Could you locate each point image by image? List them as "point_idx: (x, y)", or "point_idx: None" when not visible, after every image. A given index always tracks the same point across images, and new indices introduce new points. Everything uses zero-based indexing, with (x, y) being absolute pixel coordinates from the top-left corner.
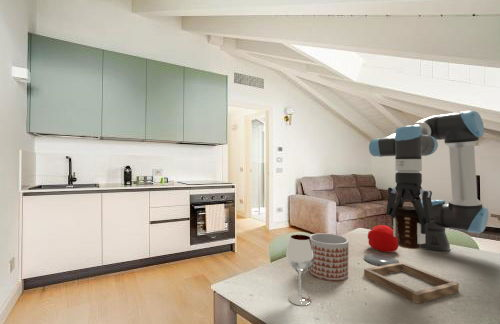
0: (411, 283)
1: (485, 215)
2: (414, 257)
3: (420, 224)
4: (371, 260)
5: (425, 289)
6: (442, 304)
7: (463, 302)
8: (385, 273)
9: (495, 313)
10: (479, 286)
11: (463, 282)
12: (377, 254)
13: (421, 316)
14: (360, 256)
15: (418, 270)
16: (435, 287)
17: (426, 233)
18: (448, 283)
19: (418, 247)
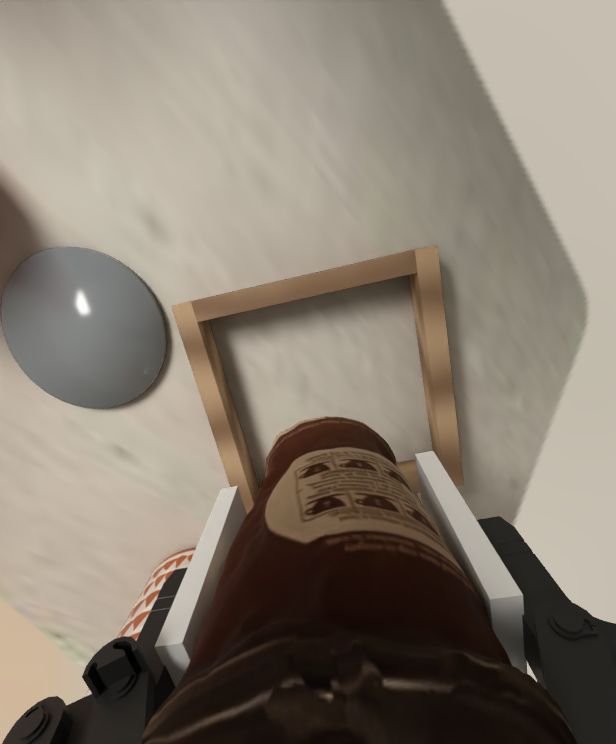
0: (326, 376)
1: None
2: (13, 73)
3: (521, 652)
4: (100, 391)
5: (440, 428)
6: (476, 394)
7: (488, 308)
8: (236, 417)
9: (573, 266)
10: (405, 69)
11: (355, 113)
12: (8, 302)
13: (506, 506)
14: (33, 395)
15: (277, 303)
16: (436, 377)
17: (501, 526)
18: (421, 287)
19: (395, 461)
